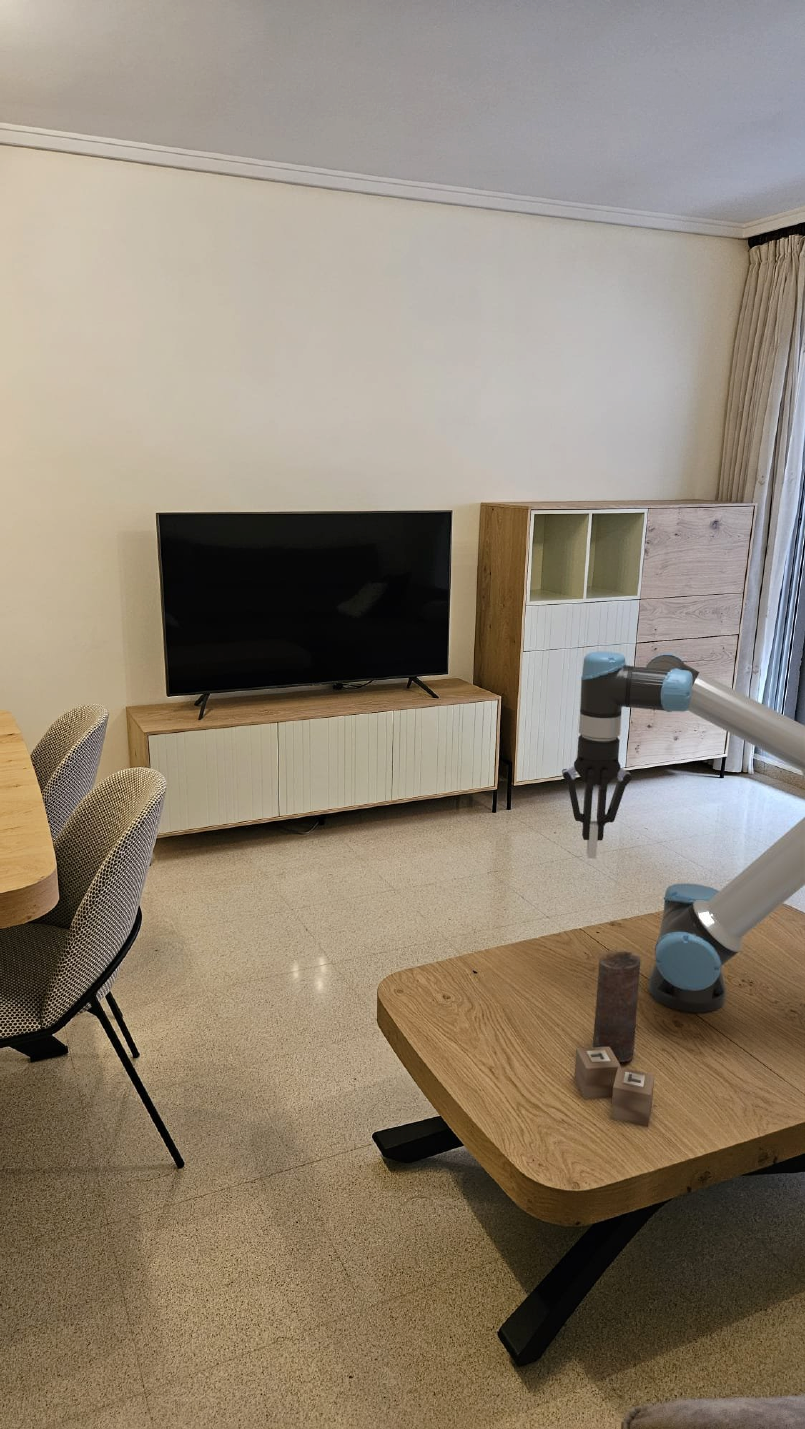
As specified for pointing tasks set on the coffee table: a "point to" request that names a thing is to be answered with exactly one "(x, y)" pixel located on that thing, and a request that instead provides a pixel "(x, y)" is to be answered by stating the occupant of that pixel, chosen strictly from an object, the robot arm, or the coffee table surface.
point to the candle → (617, 1003)
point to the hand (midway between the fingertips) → (591, 855)
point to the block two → (595, 1072)
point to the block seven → (632, 1096)
